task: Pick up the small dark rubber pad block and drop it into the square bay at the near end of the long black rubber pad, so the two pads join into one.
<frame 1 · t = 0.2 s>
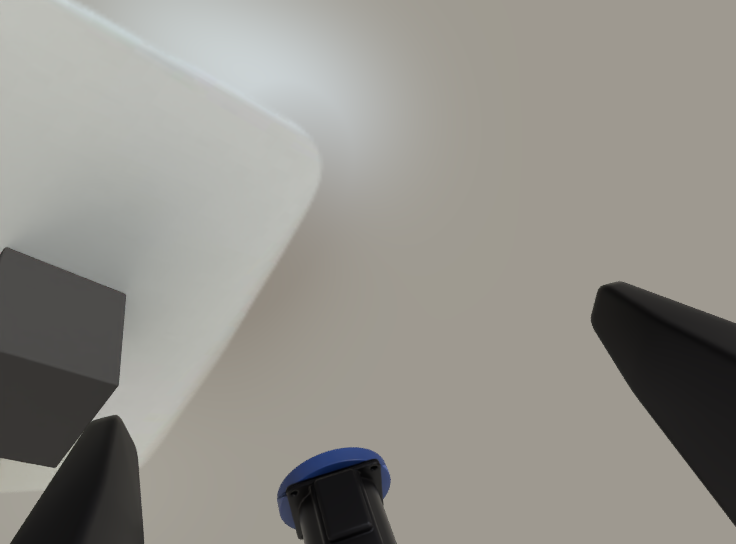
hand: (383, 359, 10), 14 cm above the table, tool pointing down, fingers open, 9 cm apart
pad block: (42, 312, 22), on the table
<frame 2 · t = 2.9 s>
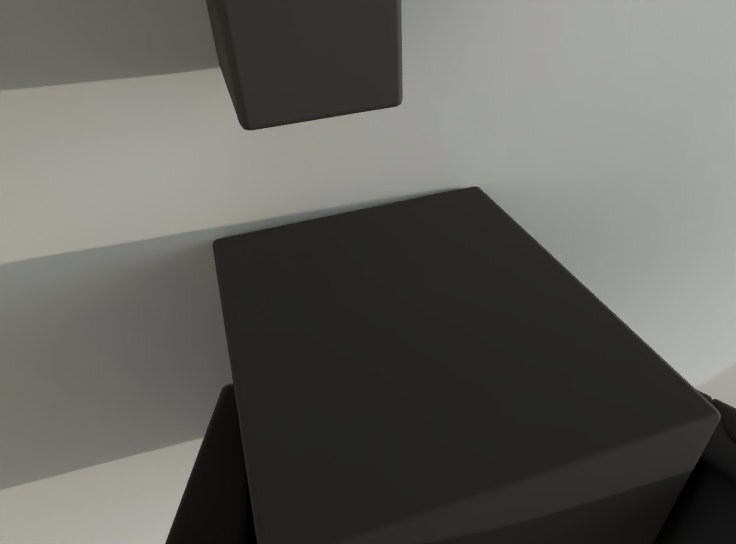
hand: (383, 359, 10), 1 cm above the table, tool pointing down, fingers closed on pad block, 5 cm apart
pad block: (360, 314, 11), on the table, touching gripper
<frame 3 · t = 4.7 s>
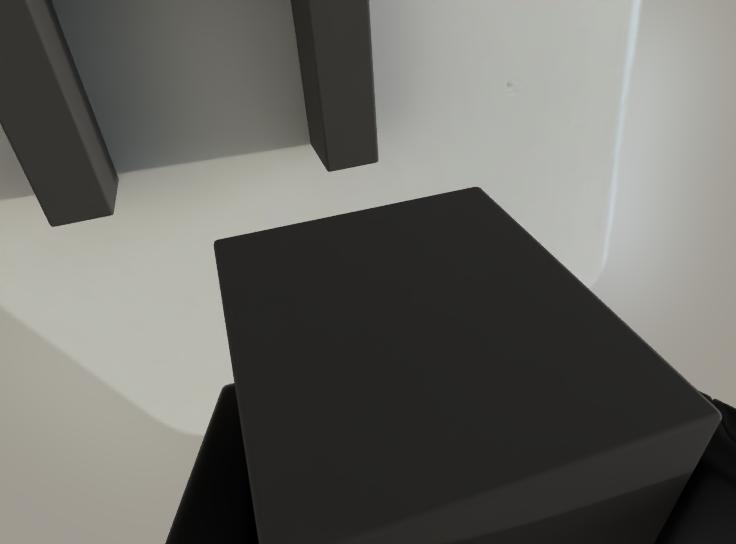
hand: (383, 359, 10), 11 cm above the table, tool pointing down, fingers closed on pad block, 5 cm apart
pad block: (361, 314, 11), point 10 cm above the table, touching gripper
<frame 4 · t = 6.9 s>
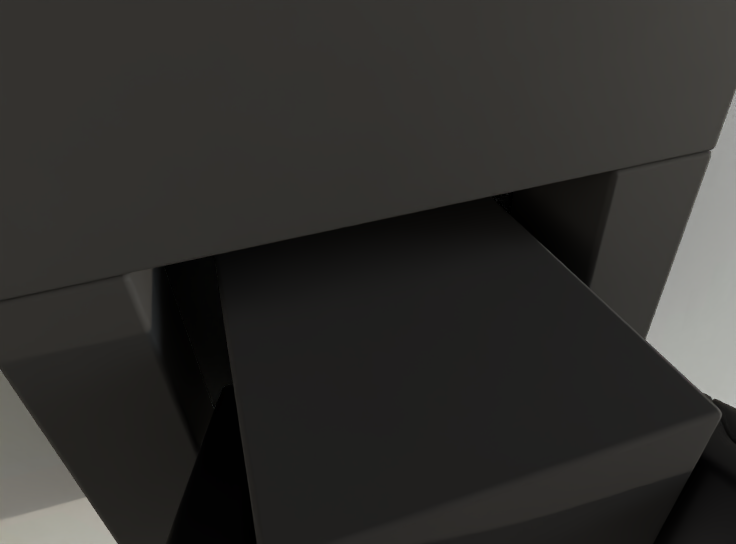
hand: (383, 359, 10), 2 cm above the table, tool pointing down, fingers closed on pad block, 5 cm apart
pad block: (360, 313, 11), on the table, touching gripper
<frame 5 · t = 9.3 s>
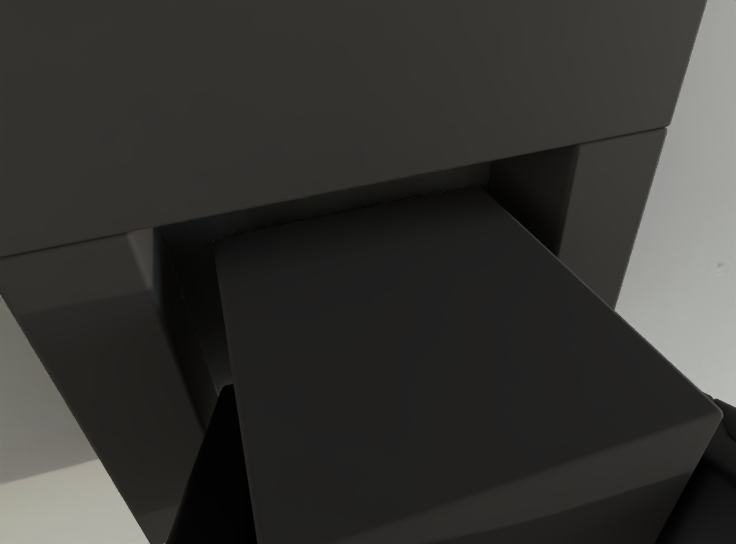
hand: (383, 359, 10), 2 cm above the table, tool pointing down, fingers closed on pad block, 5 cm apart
pad block: (360, 313, 11), point 1 cm above the table, touching gripper
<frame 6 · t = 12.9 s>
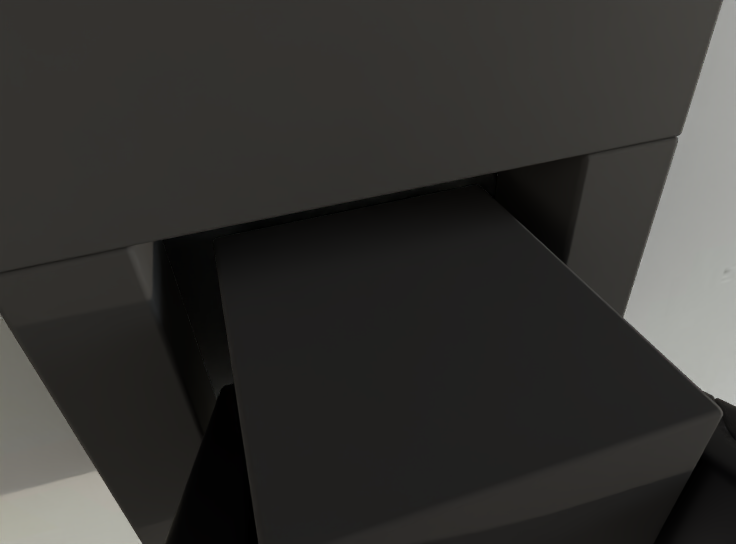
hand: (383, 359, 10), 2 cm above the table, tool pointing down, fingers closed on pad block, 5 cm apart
pad block: (361, 312, 11), point 1 cm above the table, touching gripper
when the fingers open (3 cm above the table, at t = 16.0 s): pad block drops 2 cm, on the table.
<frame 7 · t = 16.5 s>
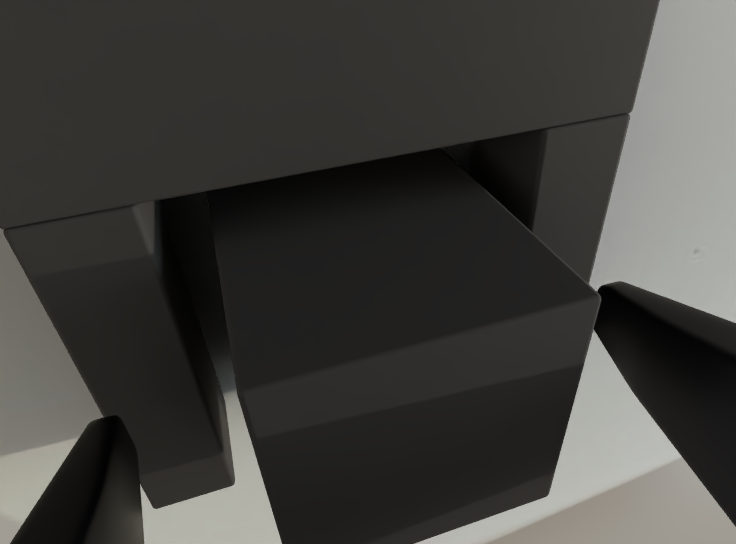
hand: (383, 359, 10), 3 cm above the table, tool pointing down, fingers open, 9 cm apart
pad block: (336, 259, 12), on the table
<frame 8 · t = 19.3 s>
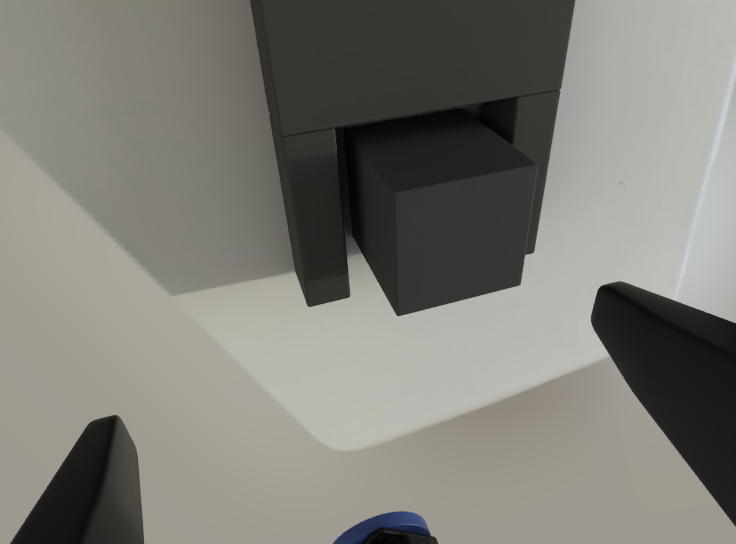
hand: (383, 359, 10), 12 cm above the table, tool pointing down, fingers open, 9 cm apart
pad block: (404, 175, 22), on the table
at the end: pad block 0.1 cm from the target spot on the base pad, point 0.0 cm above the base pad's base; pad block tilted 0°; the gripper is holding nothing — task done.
